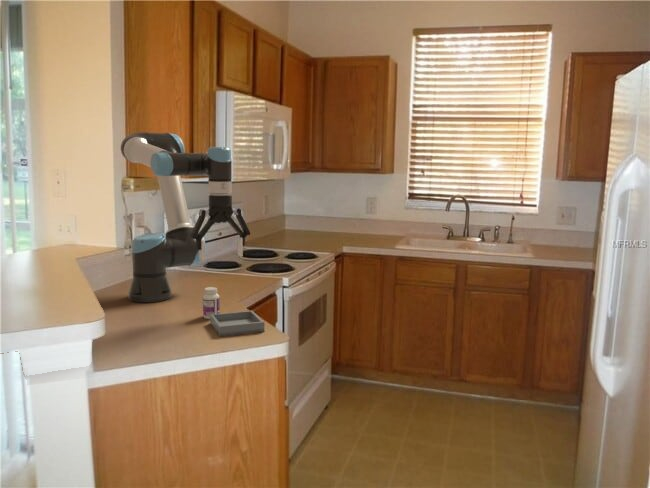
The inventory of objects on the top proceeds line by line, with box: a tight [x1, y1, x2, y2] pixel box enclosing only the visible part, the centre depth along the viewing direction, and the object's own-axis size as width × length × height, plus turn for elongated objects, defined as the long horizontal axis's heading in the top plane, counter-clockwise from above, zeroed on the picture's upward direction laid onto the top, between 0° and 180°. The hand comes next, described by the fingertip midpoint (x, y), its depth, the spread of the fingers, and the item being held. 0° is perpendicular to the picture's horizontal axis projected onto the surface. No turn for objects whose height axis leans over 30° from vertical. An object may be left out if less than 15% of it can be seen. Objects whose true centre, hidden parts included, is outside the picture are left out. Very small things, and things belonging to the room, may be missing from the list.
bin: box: [209, 310, 265, 337], centre depth 173 cm, size 14×14×3 cm
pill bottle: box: [202, 286, 221, 320], centre depth 183 cm, size 5×5×10 cm
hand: (221, 257), depth 188 cm, fingers open, 13 cm apart
